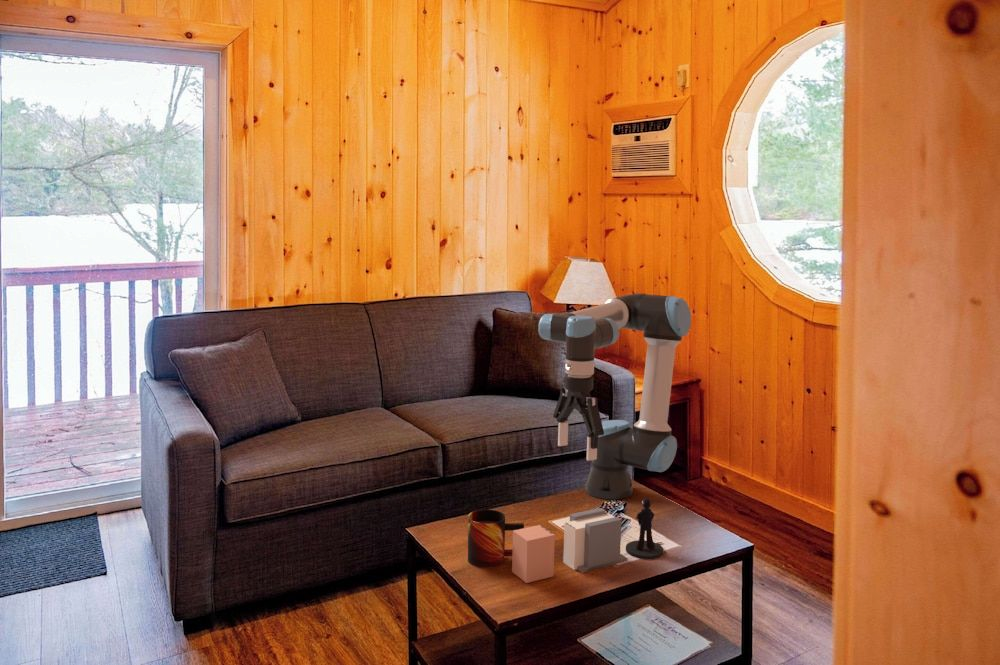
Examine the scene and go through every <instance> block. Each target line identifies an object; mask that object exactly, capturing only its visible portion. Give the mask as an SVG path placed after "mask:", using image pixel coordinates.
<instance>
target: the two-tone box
mask: <svg viewBox="0 0 1000 665" xmlns="http://www.w3.org/2000/svg"><path fill="white" fill-rule="evenodd" d="M563 525H564V528H563V531H564V532H563V555H562V556H561V558H562V562H563V564H565V565H566V566H567V567H569V568H571V569H572V570H573V571H576V570H578V571H579V572H580V573H585V572H589V571H593V570H598V569H601V568H605V567H609V566H610V567H611V566H613V565H617V564H621V563H625V562H628V557H626V556H625V555H623V554H622V553H621V544H622V543H621V540H622V519H621V518H620V517H618V516H614V515H612V514H611V513H609V512H608V513H606V510H605V509H604V508H602V507H599V508H593V509H589V510H584V511H579V512H575V513H571V514H569V521H566V522H564V524H563Z"/></svg>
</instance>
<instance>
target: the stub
mask: <svg viewBox="0 0 1000 665" xmlns="http://www.w3.org/2000/svg"><path fill="white" fill-rule="evenodd" d="M555 536H556V535H555V534H554V532H551V531H550V530H549V529H547V528H545V527H544V526H542V525H540V524H537V525H533V526H528V527H524V528H523V529H518V530H512V556H511V560H512V565H511V573H513V574H514V575H516V576H517V577H518V578H520V580H522V581H523V582H524V583H525V584H528V583H532V582H536V581H540V580H544V579H548V578H553V577H554V576H555V575H554V574H555V573H554V572H555V545H556V544H555V543H556V542H555V541H556V540H555V539H556V537H555Z"/></svg>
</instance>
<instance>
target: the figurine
mask: <svg viewBox="0 0 1000 665" xmlns="http://www.w3.org/2000/svg"><path fill="white" fill-rule="evenodd" d="M641 503H642V507H643V508H642V509H641V510H640V512H639V511H638V513H637V514H636V515H635V519H637V521H638V525H639V538H638V539H637V540H632V541H629V542H628V543H626V545H625V552H626V553H627V554H628V555H629V556H631V557H633V558H636V559H641V560H656V559H659V558H661V557H662V556H664V551H665V550H664V547H663V546H662V545H661V544H659V543H657V542H654V538H653V533H652V526H653V525H652V524H653V523H652V521H653V519H654V516H655V513H654V512H653V511H652V509H651V508H650V507H651V505H652V503H651V500H650V499H649V498H648V497H645V498H643V500H641ZM645 536H646V539H645Z"/></svg>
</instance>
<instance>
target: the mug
mask: <svg viewBox="0 0 1000 665" xmlns="http://www.w3.org/2000/svg"><path fill="white" fill-rule="evenodd" d="M523 528H525V523H523V522H517V523H516V522H513V523H509V522H508V523H507V522H506V515H505V514H504V513H503V512H501V511H499V510H496V509H495V510H494V509H478V510H474V511H472V512H470V513H469V514H468V515H467V563H469V565H471V566H473V567H475V568H481V569H493V568H496V567H500V566H502V565H503V564H504V562H505V557H512V549H513V548H512V549H505V548H506V545H505V543H506V542H505V541H506V535H505V534H506V532H507V531H513V530H518V529H523Z"/></svg>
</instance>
